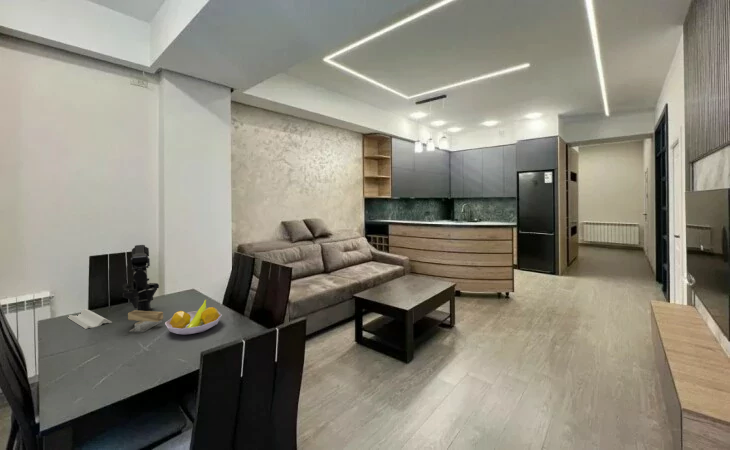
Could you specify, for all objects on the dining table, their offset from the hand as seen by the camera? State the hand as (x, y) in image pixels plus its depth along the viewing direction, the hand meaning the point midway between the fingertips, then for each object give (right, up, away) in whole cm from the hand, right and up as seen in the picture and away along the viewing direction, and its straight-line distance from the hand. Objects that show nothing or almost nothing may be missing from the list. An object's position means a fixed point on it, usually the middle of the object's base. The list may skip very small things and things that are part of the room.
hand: (142, 305), depth 169 cm
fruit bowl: (+31, -12, -3) cm, 34 cm away
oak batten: (+2, -8, -1) cm, 8 cm away
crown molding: (-38, -12, +10) cm, 41 cm away
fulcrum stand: (+3, -12, 0) cm, 12 cm away
